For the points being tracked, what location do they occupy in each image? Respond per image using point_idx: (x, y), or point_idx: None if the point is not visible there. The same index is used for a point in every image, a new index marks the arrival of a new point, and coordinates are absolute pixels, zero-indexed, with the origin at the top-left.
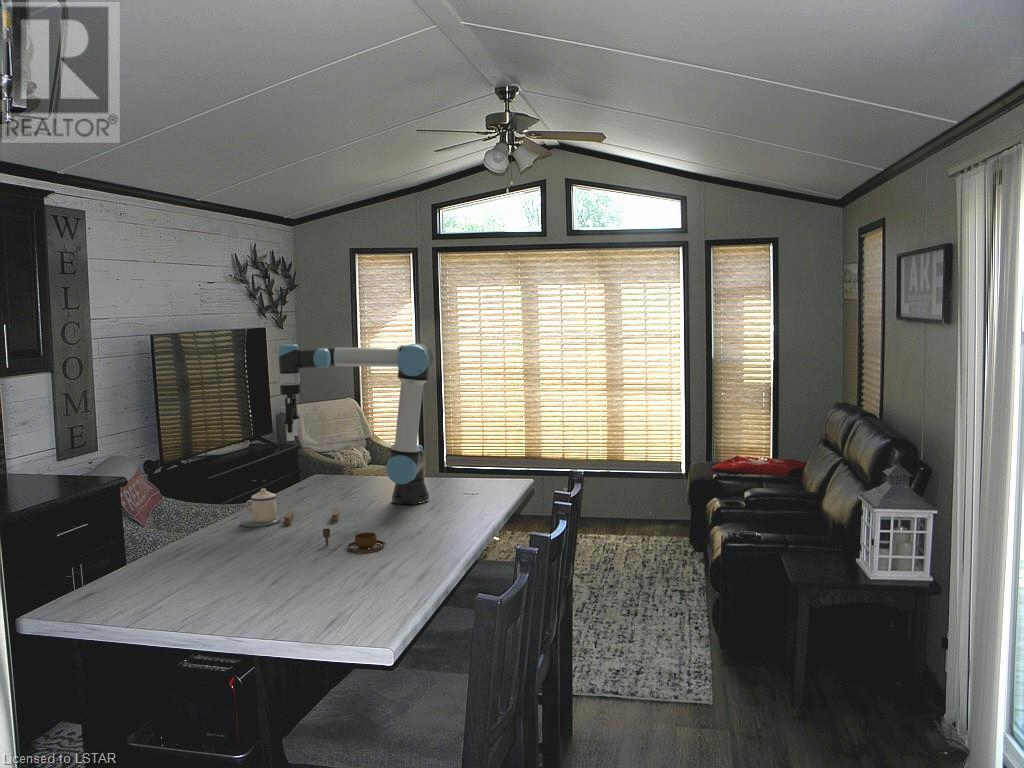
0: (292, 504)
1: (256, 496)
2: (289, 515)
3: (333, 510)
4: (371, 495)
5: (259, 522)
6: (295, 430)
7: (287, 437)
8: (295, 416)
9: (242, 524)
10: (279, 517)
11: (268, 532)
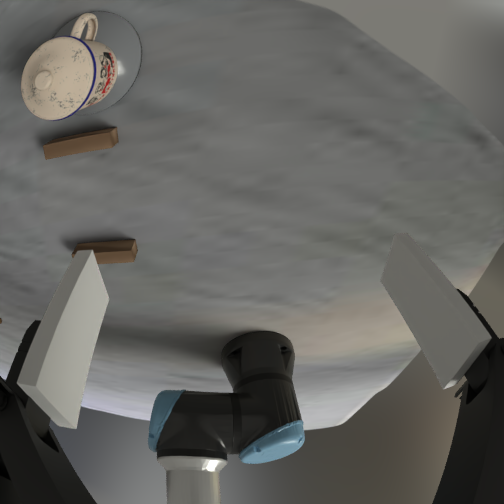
0: (312, 109)
1: (30, 66)
2: (63, 152)
3: (112, 252)
4: (340, 291)
5: None
6: (404, 296)
7: (69, 276)
8: (465, 405)
9: (62, 28)
10: (106, 107)
11: (6, 121)
